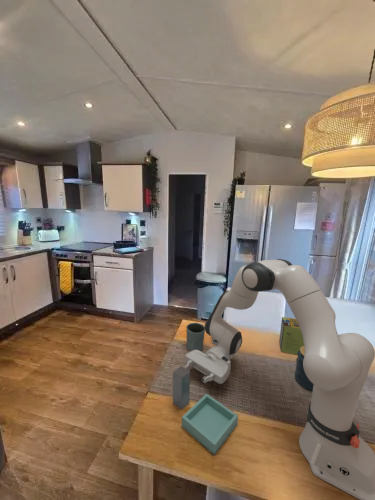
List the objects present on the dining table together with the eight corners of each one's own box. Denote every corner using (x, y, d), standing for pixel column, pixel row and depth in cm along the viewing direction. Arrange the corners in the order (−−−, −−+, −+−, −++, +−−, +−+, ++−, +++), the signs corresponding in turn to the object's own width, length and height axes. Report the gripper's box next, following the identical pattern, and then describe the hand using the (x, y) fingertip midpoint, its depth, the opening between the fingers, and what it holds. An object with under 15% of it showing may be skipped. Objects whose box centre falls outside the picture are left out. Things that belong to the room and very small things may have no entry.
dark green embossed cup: (187, 341, 133) (187, 321, 130) (205, 343, 131) (205, 323, 129) (184, 352, 123) (185, 331, 120) (203, 354, 121) (204, 333, 119)
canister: (293, 385, 102) (298, 349, 99) (295, 367, 113) (299, 334, 110) (327, 397, 96) (334, 359, 93) (326, 377, 107) (331, 342, 104)
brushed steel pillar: (189, 402, 92) (190, 371, 89) (181, 409, 89) (181, 377, 86) (180, 396, 95) (181, 365, 92) (172, 402, 92) (173, 371, 89)
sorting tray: (237, 424, 83) (238, 415, 83) (214, 455, 73) (214, 444, 72) (206, 402, 92) (206, 393, 92) (181, 426, 82) (181, 416, 81)
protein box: (312, 357, 121) (316, 330, 118) (280, 352, 125) (283, 325, 122) (308, 346, 131) (311, 320, 128) (278, 341, 135) (281, 316, 132)
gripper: (196, 343, 112) (176, 356, 102) (234, 363, 99) (214, 380, 89) (196, 354, 113) (176, 369, 103) (233, 376, 100) (214, 395, 90)
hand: (194, 374), depth 96 cm, fingers open, 8 cm apart
